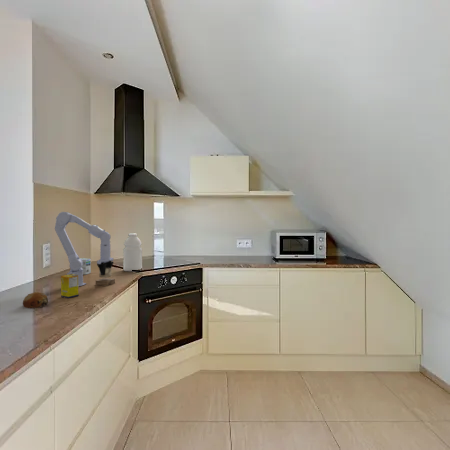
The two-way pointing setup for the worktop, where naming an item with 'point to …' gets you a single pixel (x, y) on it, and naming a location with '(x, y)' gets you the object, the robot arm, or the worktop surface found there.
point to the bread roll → (35, 300)
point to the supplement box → (69, 286)
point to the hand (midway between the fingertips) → (105, 274)
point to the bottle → (132, 253)
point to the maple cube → (106, 273)
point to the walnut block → (105, 281)
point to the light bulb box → (86, 265)
